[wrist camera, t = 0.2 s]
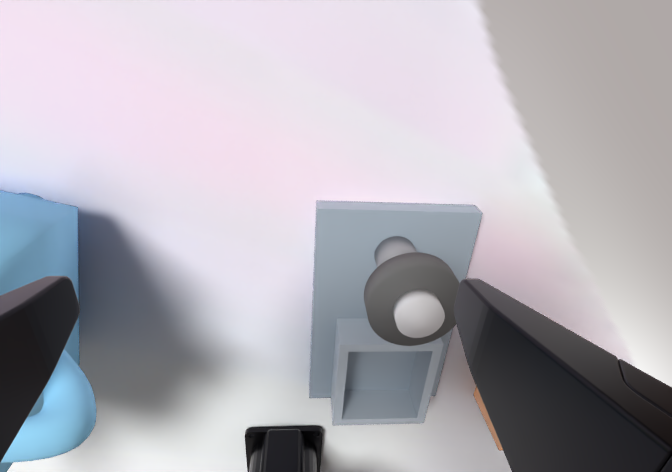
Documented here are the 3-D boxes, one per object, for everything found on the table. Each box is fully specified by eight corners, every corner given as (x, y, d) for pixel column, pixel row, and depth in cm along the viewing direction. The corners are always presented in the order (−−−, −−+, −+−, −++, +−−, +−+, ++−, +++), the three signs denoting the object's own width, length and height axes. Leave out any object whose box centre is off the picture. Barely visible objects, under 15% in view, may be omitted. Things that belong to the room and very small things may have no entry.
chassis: (430, 383, 32) (445, 423, 29) (309, 385, 31) (309, 427, 28) (474, 205, 25) (500, 231, 21) (316, 200, 24) (318, 227, 20)
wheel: (446, 328, 22) (459, 356, 20) (359, 328, 22) (365, 357, 20) (464, 253, 20) (481, 277, 18) (368, 251, 20) (375, 275, 18)
